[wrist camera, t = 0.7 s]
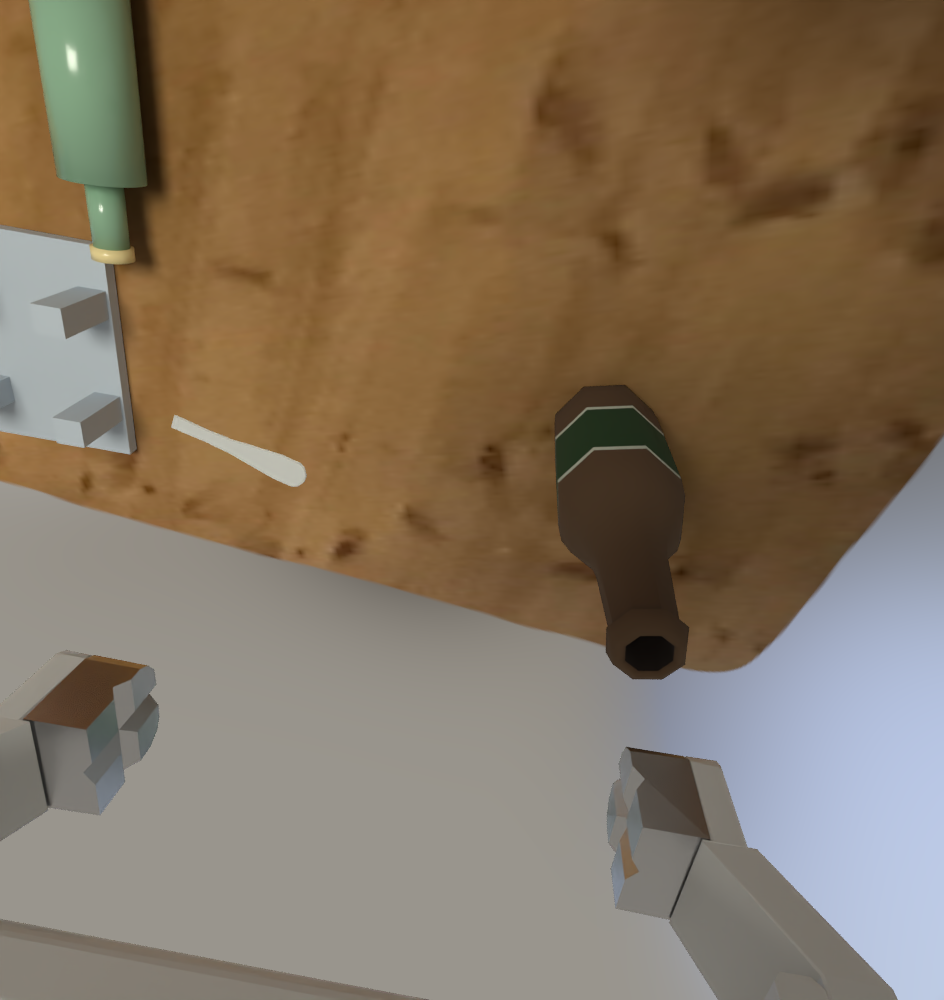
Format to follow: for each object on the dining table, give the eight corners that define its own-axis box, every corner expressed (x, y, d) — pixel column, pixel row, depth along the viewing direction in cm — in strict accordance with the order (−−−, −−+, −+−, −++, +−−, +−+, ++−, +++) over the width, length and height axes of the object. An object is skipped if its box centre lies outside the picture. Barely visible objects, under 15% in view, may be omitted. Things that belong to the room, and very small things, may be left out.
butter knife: (300, 494, 54) (310, 466, 52) (10, 369, 50) (13, 335, 49) (301, 492, 54) (312, 464, 53) (14, 367, 51) (17, 333, 49)
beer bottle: (574, 364, 46) (602, 560, 26) (674, 399, 47) (781, 618, 26) (535, 455, 50) (533, 690, 30) (628, 486, 51) (689, 737, 30)
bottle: (58, -43, 37) (-5, -64, 33) (144, -27, 37) (92, -47, 33) (98, 246, 45) (52, 259, 41) (169, 258, 45) (130, 273, 41)
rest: (-46, 216, 45) (-122, 229, 40) (110, 244, 45) (55, 260, 40) (4, 425, 53) (-53, 457, 48) (136, 448, 53) (93, 484, 48)
